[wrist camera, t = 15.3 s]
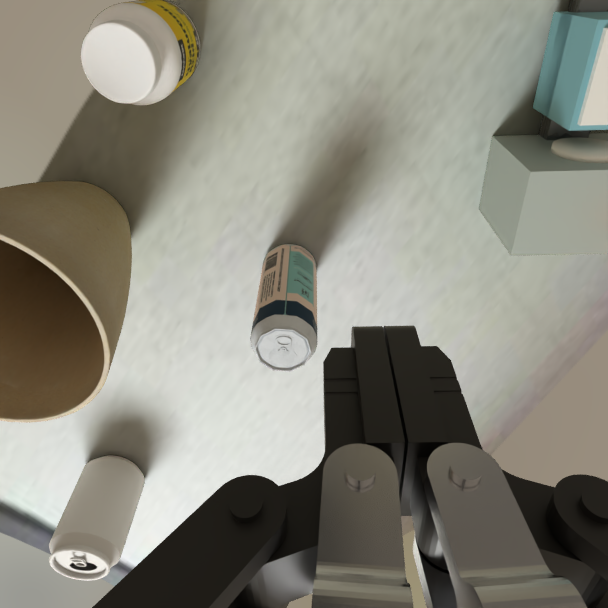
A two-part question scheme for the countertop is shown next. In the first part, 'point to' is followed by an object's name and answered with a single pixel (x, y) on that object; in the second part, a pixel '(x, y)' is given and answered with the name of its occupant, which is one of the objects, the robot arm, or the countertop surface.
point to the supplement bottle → (140, 51)
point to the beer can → (286, 309)
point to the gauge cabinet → (548, 194)
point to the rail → (549, 129)
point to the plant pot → (59, 296)
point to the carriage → (575, 72)
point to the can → (97, 519)
